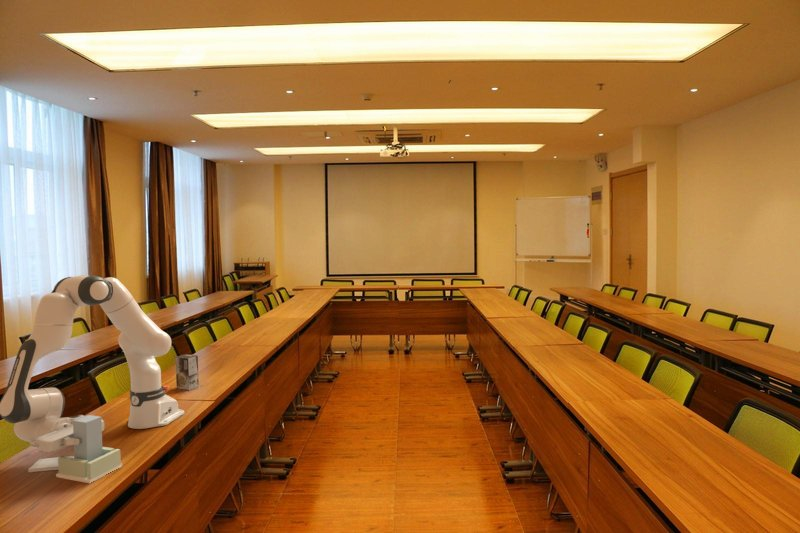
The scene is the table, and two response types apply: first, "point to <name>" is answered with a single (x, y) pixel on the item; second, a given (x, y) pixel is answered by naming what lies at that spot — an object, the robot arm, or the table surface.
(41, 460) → the hard drive
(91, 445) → the block
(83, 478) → the cradle
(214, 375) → the table surface
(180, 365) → the coffee box
